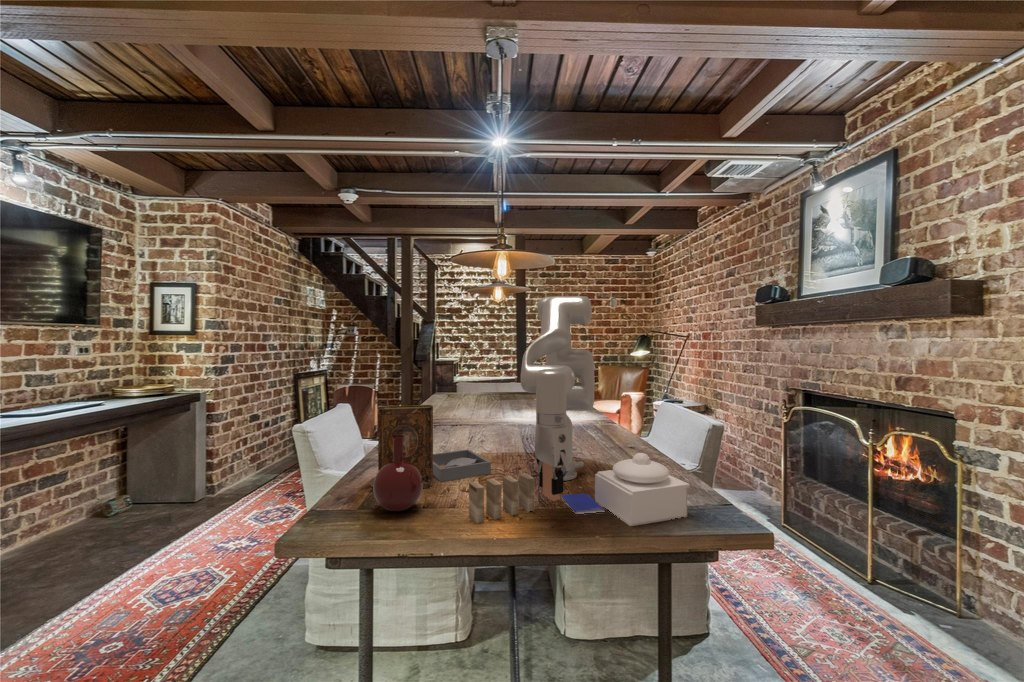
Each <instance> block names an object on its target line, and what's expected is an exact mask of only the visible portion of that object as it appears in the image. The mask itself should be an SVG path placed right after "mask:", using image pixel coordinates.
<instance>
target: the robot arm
mask: <svg viewBox="0 0 1024 682" xmlns="http://www.w3.org/2000/svg"><path fill="white" fill-rule="evenodd" d="M536 308H537V314H538V318H539V321H540V323H541V326H540V335H539V336H538V337H536V338H535V339H534V340H533V341H532V342H531V343H530V344H529V345H528V347H527V348H526V350H525V351H524V354H523V356H522V360H521V361H522V362H521V369H520V386H521V387H522V390H523V391H524V392H527V393H529V394H530V393H531V394H535V413H536V414H535V422H536V423H535V425H536V426H535V433H534V452H533V455H534V457H535V460H536V464H537V465H538V466H537V470H538V485H539V487H540V488H542V487H543V472H542V464H543V462H544V463H546V464H548V465H550V466H552V473H553V478H552V494H553V495H556V494H560V495H561V494H562V493H564V482H565V481H570V480H574V479H576V478H577V476H578V472H577V471H576V469H577V468H583V467H584V466H585V463H584V461H576V460H573V422H572V420H571V418H570V416H569V415H568V414H567V412H568V411H579V412H580V411H583V412H585V411H586V412H587V411H590V410H592V409H593V408H594V405H595V361H594V355H593V353H592V351H590V350H588V349H584V348H583V349H582V348H581V349H580V348H576V349H575V348H573V347H572V334H571V333H572V332H571V325H587V324H589V323H590V321H591V319H592V313H593V311H592V310H593V309H592V302H591V300H590V298H589V296H585V295H557V296H554V295H553V296H544V297H542V298H540V299H539V300H538V301H537V305H536ZM543 357H545V364H535V362H537V361H538V360H539V359H541V358H543ZM576 379H579V380H580V381H576ZM558 463H559V464H560V465H558ZM556 468H560V470H559V471H558V472H557V470H556Z"/></svg>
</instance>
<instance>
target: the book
mask: <svg viewBox="0 0 1024 682" xmlns="http://www.w3.org/2000/svg"><path fill="white" fill-rule="evenodd" d="M377 415H378V421H377V424H378V425H377V426H378V428H377V430H378V433H377V434H378V435H377V436H378V440H377V444H378V448H377V449H378V452H377V453H378V455H377V456H378V459H377V463H378V464H377V466H378V469H377V470H378V471H379V470H380V469H381V468H382V467H383V466H384V465H386V464H388V463H390V462H392V461H393V438H392V437H393V436H396V435H402V436H404V438H403V461H407V462H410V463H412V464H413V465H414V466H416V467H417V469H418V470H419V471H420V473H421V476H422V479H423V488H426V489H431V488H430V487H432V486H434V476H433V454H434V405H431V404H420V405H419V404H418V405H415V404H414V405H411V404H410V405H388V406H386V405H385V406H383V405H382V406H380V407H379V410H378V414H377ZM378 471H377V472H378ZM432 488H433V487H432Z"/></svg>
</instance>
